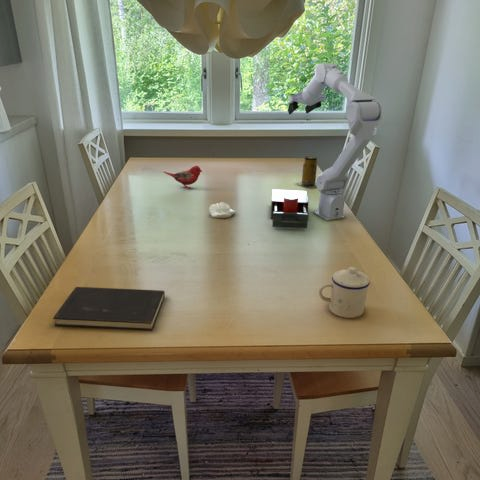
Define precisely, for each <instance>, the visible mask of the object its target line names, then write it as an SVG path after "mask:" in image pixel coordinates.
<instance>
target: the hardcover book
mask: <svg viewBox="0 0 480 480" xmlns="http://www.w3.org/2000/svg"><path fill="white" fill-rule="evenodd" d="M165 297H166V293H165V290H162V289H161V290H157V289H156V290H155V289H137V288H136V289H135V288H116V287H115V288H114V287H94V286H93V287H91V286H75V287H74V288H73V290H72V291H71V293H70V294H69V295H68V296H67V298H66V299H65V301H64V302H63V304H62V305H61V307H60V308H59V309H58V311H57V312H56V313H55V315H54V316H53V317H52V320H54V321H55V324H54V327H68V328H71V327H72V328H87V329H88V328H89V329H107V330H109V329H111V330H131V331H147V332H148V331H151V332H152V331H153V330H154V327H155V324H156V322H157V320H158V317H159V314H160V311H161V309H162V306H163V303H164V301H165Z"/></svg>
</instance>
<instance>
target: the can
mask: <svg viewBox="0 0 480 480" xmlns="http://www.w3.org/2000/svg"><path fill="white" fill-rule="evenodd" d="M297 207H298V197H297V196H295V195H286V196H285V197H284V204H283V212H290V213H297Z"/></svg>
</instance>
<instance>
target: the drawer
mask: <svg viewBox="0 0 480 480" xmlns="http://www.w3.org/2000/svg"><path fill="white" fill-rule="evenodd" d="M283 204H284V203H275V205H274V212H273V219H272V228H287V229H308V222H309V213H306V207H305V204H298V207H297V213H290V212H283Z"/></svg>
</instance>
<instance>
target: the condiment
mask: <svg viewBox="0 0 480 480" xmlns="http://www.w3.org/2000/svg"><path fill="white" fill-rule="evenodd" d="M317 160H318V157H317V156H315V155H306V156H305V157H304V162H303V163H302V172H301V173H302V174H301V182H298V183H297V185H299V186H302V187H306V188H309V189H315V188H317V185H316V181H317V171H318V170H317V169H318V164H317V163H318V161H317Z"/></svg>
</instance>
